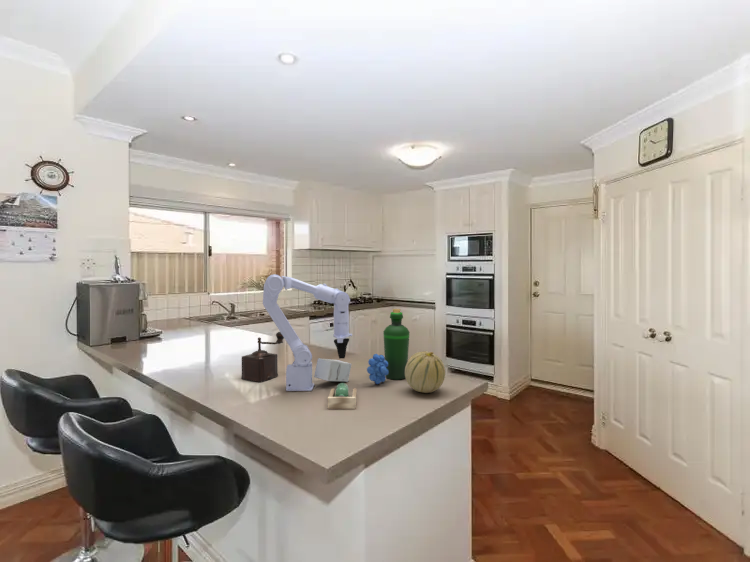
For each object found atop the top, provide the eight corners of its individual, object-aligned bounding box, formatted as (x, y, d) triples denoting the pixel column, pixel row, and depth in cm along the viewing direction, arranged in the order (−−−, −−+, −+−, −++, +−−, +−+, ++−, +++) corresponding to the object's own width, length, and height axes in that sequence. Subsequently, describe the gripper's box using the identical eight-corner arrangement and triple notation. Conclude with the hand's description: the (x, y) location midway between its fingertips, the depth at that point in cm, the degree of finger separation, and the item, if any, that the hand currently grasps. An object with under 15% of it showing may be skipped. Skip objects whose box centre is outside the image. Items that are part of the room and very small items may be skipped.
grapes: (376, 389, 149) (376, 357, 149) (363, 386, 154) (363, 354, 154) (396, 383, 158) (396, 352, 158) (383, 379, 163) (383, 350, 162)
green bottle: (338, 396, 144) (336, 408, 132) (334, 385, 143) (332, 395, 132) (350, 392, 144) (349, 403, 132) (346, 381, 144) (345, 391, 132)
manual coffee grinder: (261, 383, 158) (261, 337, 157) (240, 379, 163) (240, 334, 162) (287, 373, 171) (287, 331, 171) (268, 370, 177) (267, 329, 176)
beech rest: (327, 408, 130) (327, 398, 129) (331, 395, 143) (331, 385, 143) (355, 408, 130) (355, 397, 130) (356, 395, 143) (356, 385, 143)
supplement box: (348, 382, 160) (327, 381, 150) (335, 377, 164) (313, 377, 154) (352, 363, 161) (331, 361, 151) (338, 359, 165) (317, 357, 155)
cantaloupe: (410, 384, 157) (411, 345, 156) (448, 388, 152) (449, 348, 151) (399, 395, 143) (399, 353, 143) (440, 400, 138) (440, 356, 137)
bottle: (409, 374, 171) (409, 308, 170) (409, 381, 160) (409, 310, 159) (384, 373, 172) (384, 307, 171) (382, 380, 161) (382, 310, 160)
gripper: (350, 325, 147) (351, 362, 148) (352, 319, 162) (353, 353, 162) (331, 325, 147) (332, 362, 148) (335, 320, 162) (335, 353, 162)
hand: (341, 358), depth 155 cm, fingers closed
